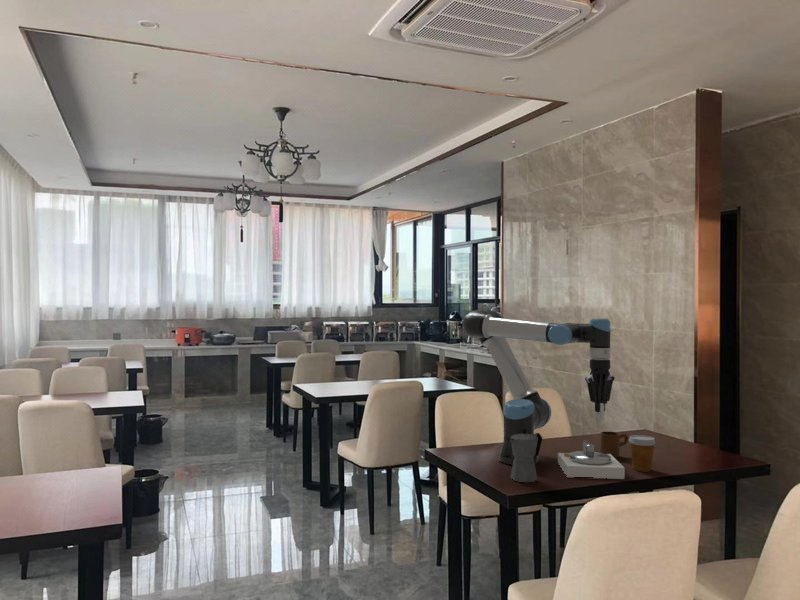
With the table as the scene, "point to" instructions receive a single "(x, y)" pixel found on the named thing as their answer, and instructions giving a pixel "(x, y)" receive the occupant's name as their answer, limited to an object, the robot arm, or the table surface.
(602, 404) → the robot arm
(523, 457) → the coffeepot
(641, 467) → the disposable coffee cup
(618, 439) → the mug
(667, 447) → the table surface
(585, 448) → the dial
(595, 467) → the dial housing
